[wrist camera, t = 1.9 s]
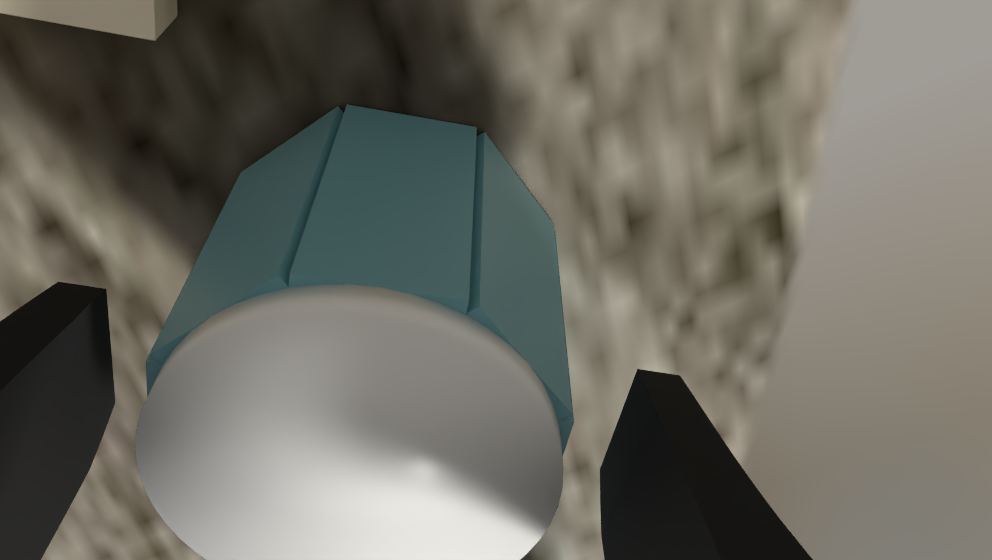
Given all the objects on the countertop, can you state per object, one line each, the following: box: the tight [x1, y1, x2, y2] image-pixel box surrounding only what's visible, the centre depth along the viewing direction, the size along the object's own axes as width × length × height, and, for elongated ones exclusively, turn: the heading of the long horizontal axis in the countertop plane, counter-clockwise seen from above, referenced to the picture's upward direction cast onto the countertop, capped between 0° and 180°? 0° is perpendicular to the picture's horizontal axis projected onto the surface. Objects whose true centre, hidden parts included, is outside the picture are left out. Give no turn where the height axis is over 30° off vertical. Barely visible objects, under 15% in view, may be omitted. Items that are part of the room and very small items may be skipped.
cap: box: [135, 104, 574, 560], centre depth 13 cm, size 5×5×5 cm
